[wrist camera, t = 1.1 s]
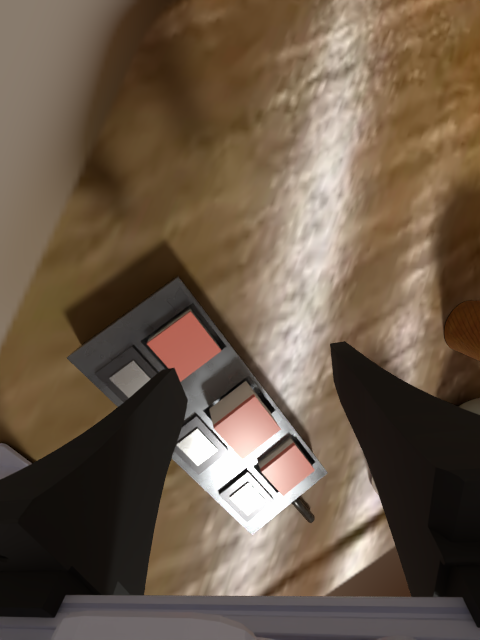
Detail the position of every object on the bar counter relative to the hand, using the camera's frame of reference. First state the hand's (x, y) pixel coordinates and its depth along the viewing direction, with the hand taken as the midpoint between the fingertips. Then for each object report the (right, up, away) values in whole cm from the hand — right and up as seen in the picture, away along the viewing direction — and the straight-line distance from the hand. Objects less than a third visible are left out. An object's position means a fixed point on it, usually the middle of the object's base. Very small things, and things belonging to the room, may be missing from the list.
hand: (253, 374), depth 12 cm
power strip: (-1, -9, +15) cm, 18 cm away
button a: (+3, -11, +15) cm, 20 cm away
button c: (-5, +1, +11) cm, 12 cm away
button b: (-1, -6, +11) cm, 13 cm away
